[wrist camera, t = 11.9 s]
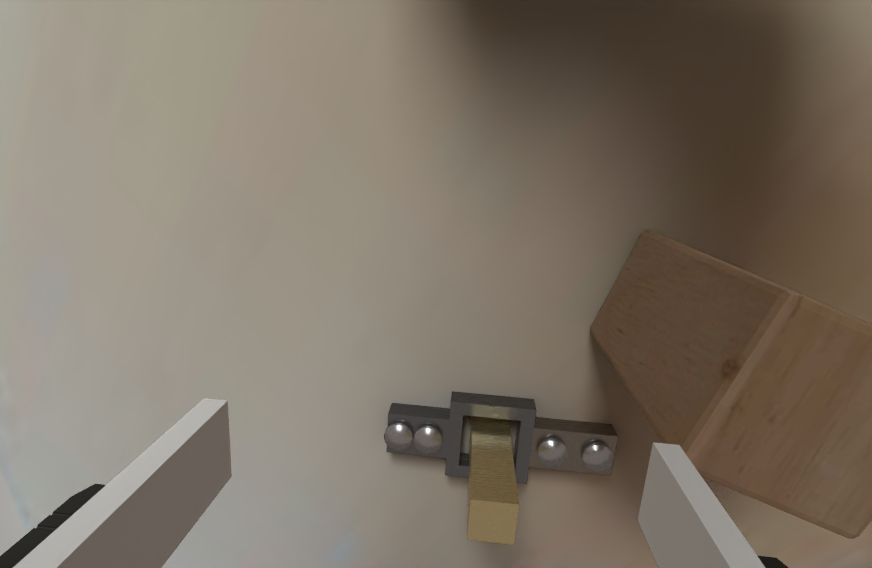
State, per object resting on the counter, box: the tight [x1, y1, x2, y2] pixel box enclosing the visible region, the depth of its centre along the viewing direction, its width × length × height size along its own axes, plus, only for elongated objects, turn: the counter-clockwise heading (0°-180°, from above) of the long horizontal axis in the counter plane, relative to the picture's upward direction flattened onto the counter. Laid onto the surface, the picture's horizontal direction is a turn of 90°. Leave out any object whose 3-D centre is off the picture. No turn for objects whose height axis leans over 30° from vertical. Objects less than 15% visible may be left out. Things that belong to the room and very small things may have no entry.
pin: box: [467, 416, 519, 545], centre depth 41 cm, size 3×3×12 cm
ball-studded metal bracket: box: [384, 392, 618, 484], centre depth 45 cm, size 8×21×3 cm, turn 86°
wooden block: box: [590, 230, 872, 539], centre depth 33 cm, size 10×10×20 cm
